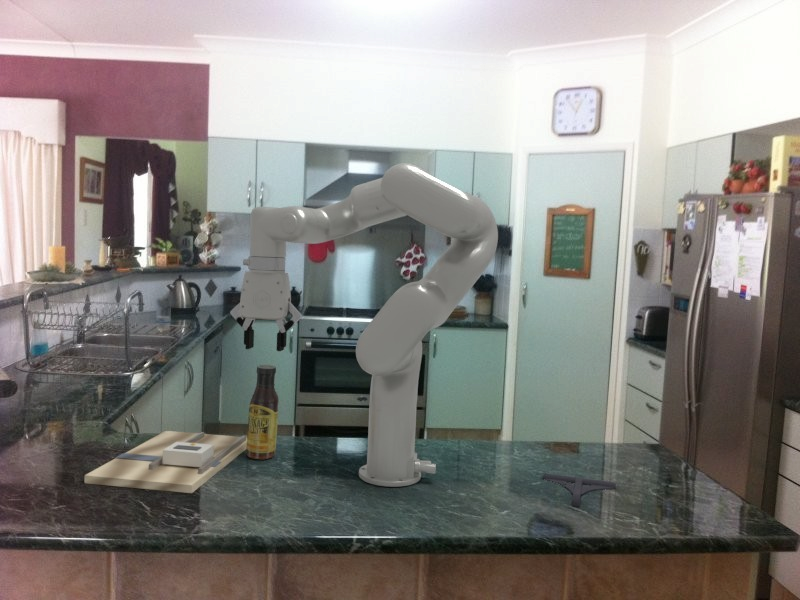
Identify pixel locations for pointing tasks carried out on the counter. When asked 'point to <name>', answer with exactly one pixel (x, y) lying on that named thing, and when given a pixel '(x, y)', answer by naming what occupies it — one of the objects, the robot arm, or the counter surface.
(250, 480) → the counter surface
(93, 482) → the wooden cutting board
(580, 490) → the bracket
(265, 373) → the sauce bottle
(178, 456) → the white rectangular box
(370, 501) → the counter surface
